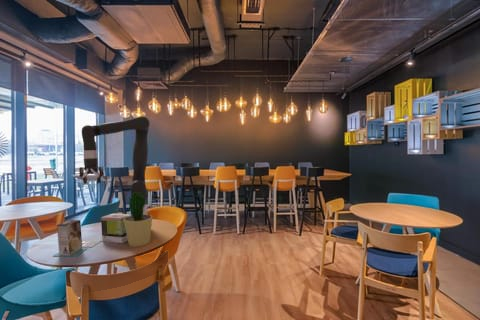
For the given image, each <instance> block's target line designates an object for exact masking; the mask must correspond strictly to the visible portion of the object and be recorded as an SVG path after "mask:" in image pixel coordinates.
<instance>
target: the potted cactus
mask: <svg viewBox="0 0 480 320" xmlns="http://www.w3.org/2000/svg"><path fill="white" fill-rule="evenodd" d="M135 192H136V191H135ZM140 193H141V192H140ZM140 193H139V192H137V193H134V194H133V195H132V196H131V195H130V196H129V203H128V205H129V206H128V210H130V211H129V212H130V214H132V216H129V217H126V218H124V224H125V229H126V234H127V238H128V241H127V242H128V245H129V247H133V248H134V247H135V248H137V247H143V246H147V245H148V244H150V242H151V234H152V233H151V231H152V225H153V224H152V223H153V215H151V214H148V213H147V214H143V207H144V206H145V199H144V197H143V195H141V194H140Z"/></svg>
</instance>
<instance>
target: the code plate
mask: <svg viewBox="0 0 480 320" xmlns="http://www.w3.org/2000/svg"><path fill="white" fill-rule="evenodd" d="M101 242H102V240H82V248H93V247H94V246H97V245H98V244H99V243H101Z"/></svg>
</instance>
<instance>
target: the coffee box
mask: <svg viewBox="0 0 480 320" xmlns="http://www.w3.org/2000/svg"><path fill="white" fill-rule="evenodd" d="M81 226H82V225H81V220H80V219H70V220H66V221H64V222H61V223H59V224H56V231H57V242H58V253H59V255H71V254H73V253H75V252H77V251H79V250H81V249H82V248H83V247H82V241H83V240H82V239H83V237H82V229H81V228H82V227H81Z"/></svg>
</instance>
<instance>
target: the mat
mask: <svg viewBox="0 0 480 320" xmlns="http://www.w3.org/2000/svg"><path fill="white" fill-rule="evenodd" d="M88 248H89V247H82V249H81V250H79V251H77V252H75V253H73V254H71V255H59V252H58V253H56V254H54V255H52V257H53V258H55V257H58V258H59V257H60V258H61V257H62V258H63V257H65V258H66V257H68V258H69V257H78V255H80V254H82V253H84V252H85V251H86V250H88Z"/></svg>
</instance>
